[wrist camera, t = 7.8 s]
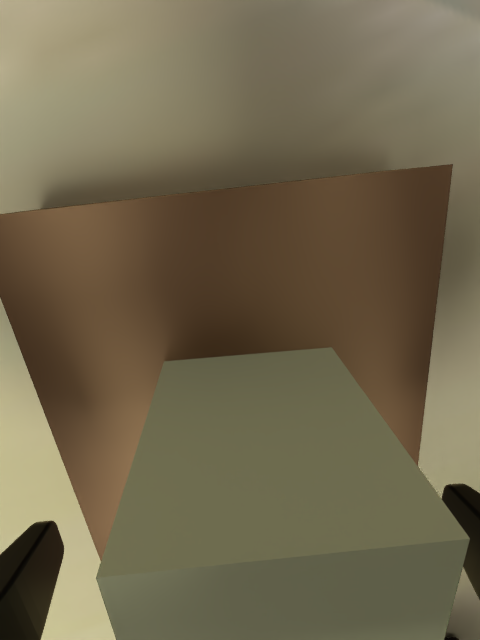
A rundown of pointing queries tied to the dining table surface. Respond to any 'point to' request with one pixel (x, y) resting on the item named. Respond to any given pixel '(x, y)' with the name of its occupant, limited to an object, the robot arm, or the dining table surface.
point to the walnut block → (220, 301)
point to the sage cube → (276, 512)
